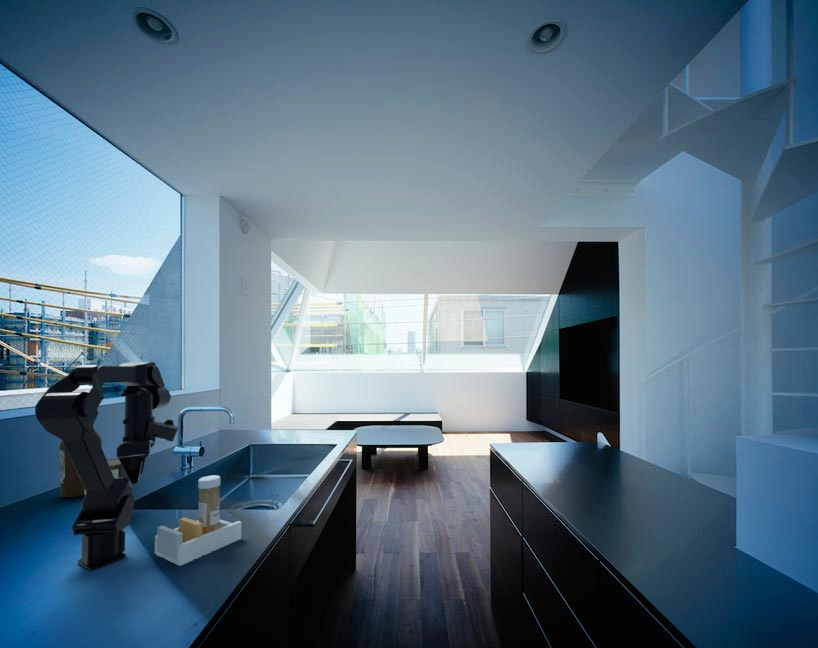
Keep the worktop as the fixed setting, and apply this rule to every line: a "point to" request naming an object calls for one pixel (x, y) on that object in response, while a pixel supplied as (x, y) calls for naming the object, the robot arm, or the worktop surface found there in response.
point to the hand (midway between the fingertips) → (137, 478)
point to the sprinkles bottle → (209, 503)
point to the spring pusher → (189, 529)
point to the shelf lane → (194, 542)
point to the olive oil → (70, 474)
